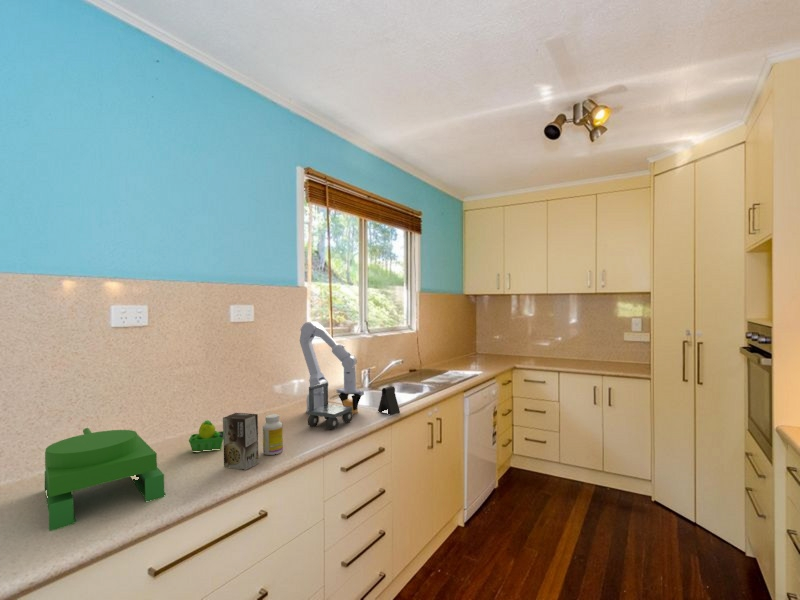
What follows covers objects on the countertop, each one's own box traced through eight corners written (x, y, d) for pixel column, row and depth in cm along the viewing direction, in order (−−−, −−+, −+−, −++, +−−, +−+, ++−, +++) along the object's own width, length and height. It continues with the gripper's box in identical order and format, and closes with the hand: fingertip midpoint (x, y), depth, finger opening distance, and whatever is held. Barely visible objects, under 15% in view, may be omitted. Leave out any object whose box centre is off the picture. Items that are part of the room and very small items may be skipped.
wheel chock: (339, 414, 189) (339, 402, 189) (349, 410, 197) (348, 398, 197) (348, 416, 187) (347, 403, 187) (357, 411, 194) (357, 399, 194)
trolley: (308, 414, 172) (307, 387, 172) (326, 407, 183) (326, 381, 184) (334, 418, 166) (334, 389, 166) (352, 410, 177) (351, 384, 177)
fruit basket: (225, 444, 151) (225, 414, 152) (223, 452, 143) (222, 420, 143) (192, 448, 148) (191, 417, 148) (187, 456, 139) (187, 423, 139)
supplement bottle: (286, 450, 143) (286, 414, 143) (273, 456, 137) (273, 419, 137) (272, 448, 146) (271, 412, 146) (258, 454, 140) (258, 417, 140)
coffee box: (259, 463, 132) (258, 413, 132) (246, 470, 126) (245, 419, 126) (237, 460, 135) (236, 411, 135) (222, 467, 129) (222, 417, 129)
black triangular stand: (400, 412, 191) (399, 387, 191) (391, 415, 187) (390, 389, 187) (386, 409, 197) (386, 385, 198) (377, 412, 193) (377, 387, 193)
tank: (139, 464, 135) (139, 415, 136) (166, 497, 110) (165, 437, 110) (43, 487, 118) (42, 432, 119) (48, 533, 93) (47, 462, 93)
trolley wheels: (307, 427, 170) (307, 415, 170) (330, 417, 184) (330, 406, 184) (330, 431, 165) (330, 418, 165) (352, 420, 179) (352, 409, 179)
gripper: (332, 381, 193) (333, 409, 193) (357, 383, 187) (358, 412, 186) (341, 378, 199) (341, 406, 199) (365, 380, 193) (366, 409, 193)
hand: (350, 409), depth 193 cm, fingers closed on wheel chock, 5 cm apart
